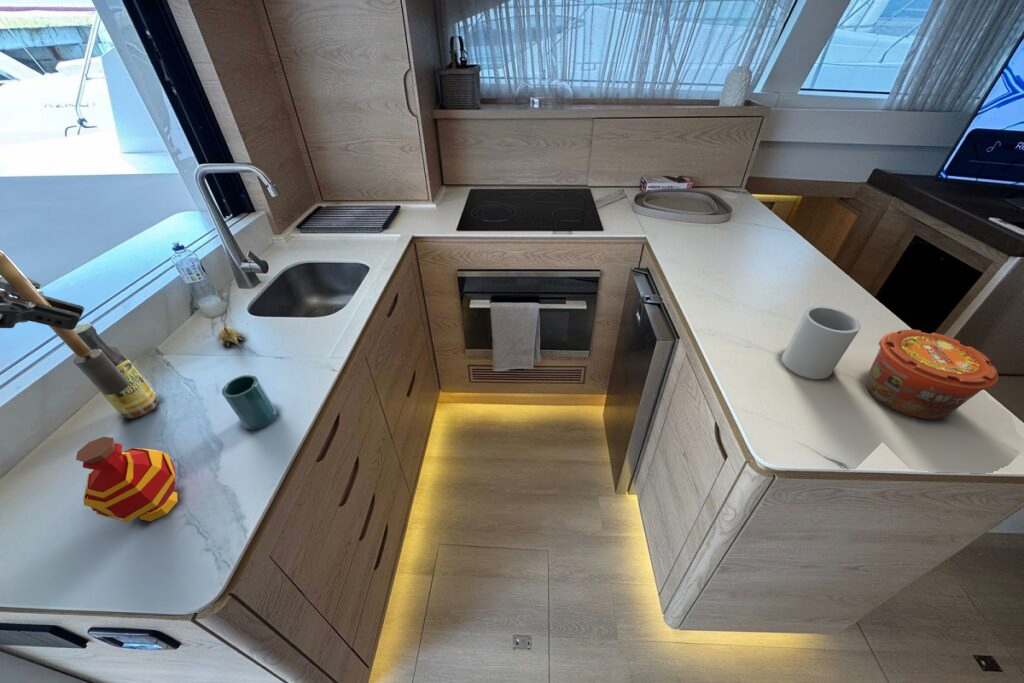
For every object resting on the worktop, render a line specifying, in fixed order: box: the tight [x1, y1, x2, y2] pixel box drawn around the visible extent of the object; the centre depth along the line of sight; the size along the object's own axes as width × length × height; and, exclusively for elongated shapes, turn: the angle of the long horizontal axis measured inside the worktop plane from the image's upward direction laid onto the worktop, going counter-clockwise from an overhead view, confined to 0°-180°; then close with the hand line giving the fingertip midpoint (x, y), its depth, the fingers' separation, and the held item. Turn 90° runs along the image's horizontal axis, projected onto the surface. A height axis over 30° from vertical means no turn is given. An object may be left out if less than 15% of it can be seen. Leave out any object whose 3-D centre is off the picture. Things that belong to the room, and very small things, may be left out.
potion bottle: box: [75, 436, 178, 523], centre depth 59 cm, size 10×10×15 cm
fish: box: [219, 325, 244, 348], centre depth 95 cm, size 5×14×5 cm, turn 49°
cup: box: [781, 305, 862, 380], centre depth 81 cm, size 9×9×12 cm
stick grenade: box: [0, 250, 129, 395], centre depth 50 cm, size 3×3×22 cm
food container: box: [864, 329, 999, 420], centre depth 74 cm, size 16×16×11 cm
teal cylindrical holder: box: [221, 374, 278, 431], centre depth 74 cm, size 6×6×9 cm
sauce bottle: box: [73, 322, 159, 420], centre depth 74 cm, size 7×6×20 cm
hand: (78, 318), depth 51 cm, fingers closed on stick grenade, 1 cm apart
